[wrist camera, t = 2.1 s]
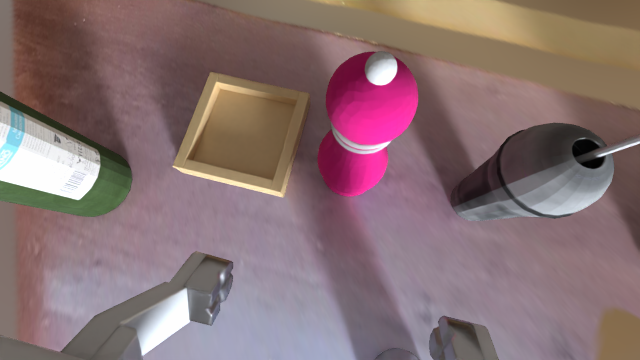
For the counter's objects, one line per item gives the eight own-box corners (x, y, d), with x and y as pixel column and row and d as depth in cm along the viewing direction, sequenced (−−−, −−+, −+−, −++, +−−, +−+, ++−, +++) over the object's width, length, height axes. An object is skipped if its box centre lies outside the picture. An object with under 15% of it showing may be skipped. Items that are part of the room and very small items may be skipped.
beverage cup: (434, 171, 35) (577, 59, 15) (495, 169, 35) (714, 55, 16) (443, 234, 33) (620, 194, 14) (508, 232, 33) (775, 189, 14)
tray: (310, 104, 37) (309, 93, 35) (283, 197, 34) (280, 192, 31) (217, 83, 38) (210, 71, 35) (182, 172, 35) (172, 166, 32)
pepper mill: (331, 209, 33) (347, 140, 14) (308, 154, 35) (296, 25, 16) (388, 187, 34) (478, 92, 15) (364, 134, 36) (415, -12, 17)
